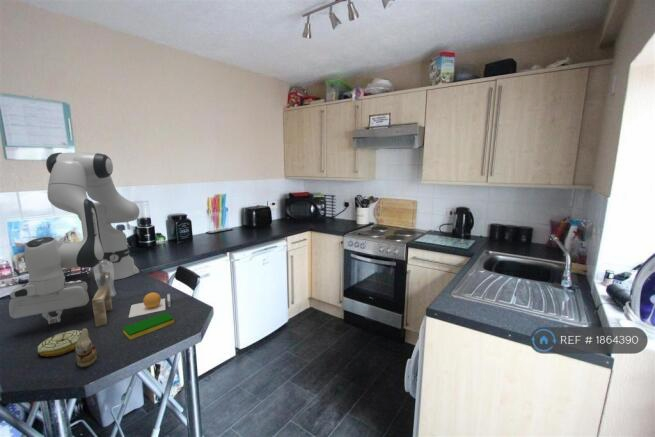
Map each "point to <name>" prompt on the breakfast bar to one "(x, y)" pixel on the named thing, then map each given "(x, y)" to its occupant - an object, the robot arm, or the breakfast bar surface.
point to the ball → (152, 300)
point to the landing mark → (145, 309)
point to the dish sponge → (148, 325)
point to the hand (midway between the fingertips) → (54, 322)
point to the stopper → (169, 300)
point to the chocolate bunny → (85, 350)
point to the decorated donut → (59, 343)
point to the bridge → (101, 305)
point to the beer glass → (105, 275)
